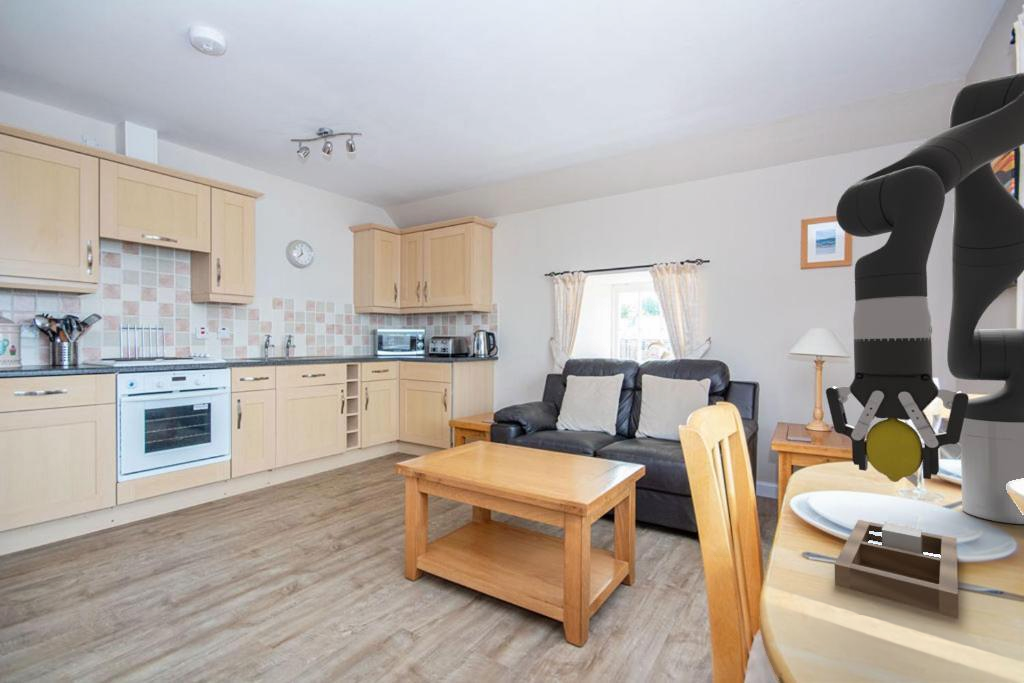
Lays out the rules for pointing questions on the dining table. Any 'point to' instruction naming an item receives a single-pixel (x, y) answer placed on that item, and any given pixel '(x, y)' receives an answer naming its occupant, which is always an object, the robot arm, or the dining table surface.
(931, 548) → the wooden tray
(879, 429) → the lemon
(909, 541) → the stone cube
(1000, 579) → the dining table surface
